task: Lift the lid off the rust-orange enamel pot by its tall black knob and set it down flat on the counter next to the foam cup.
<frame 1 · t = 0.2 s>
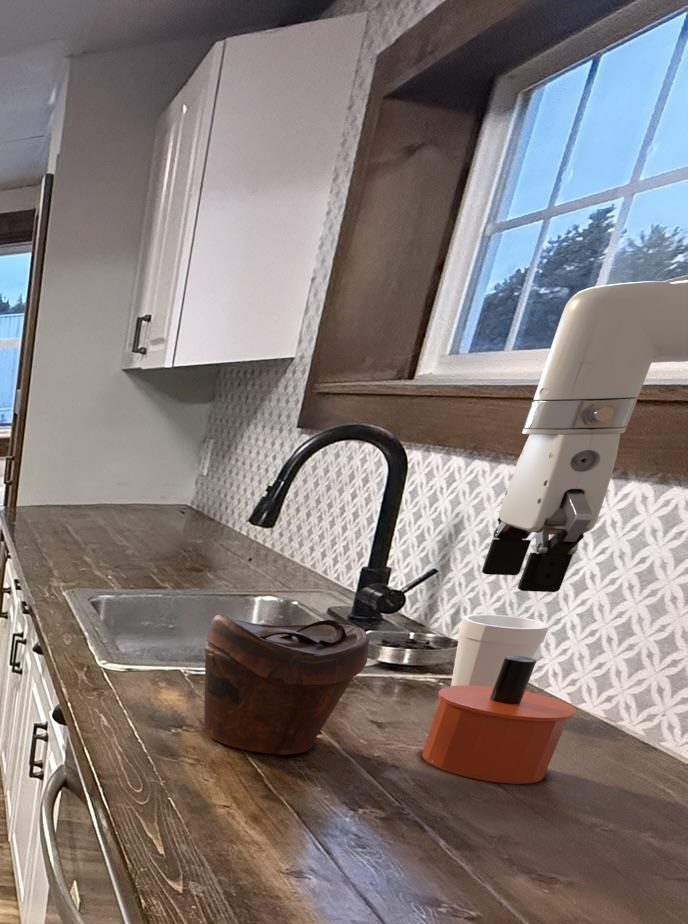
hand: (517, 582, 92), 26 cm above the worktop, tool pointing down, fingers open, 9 cm apart
pot: (480, 765, 108), on the worktop
foam cup: (474, 704, 128), on the worktop
pot lid: (503, 704, 104), point 8 cm above the worktop, touching pot
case: (259, 740, 118), on the worktop
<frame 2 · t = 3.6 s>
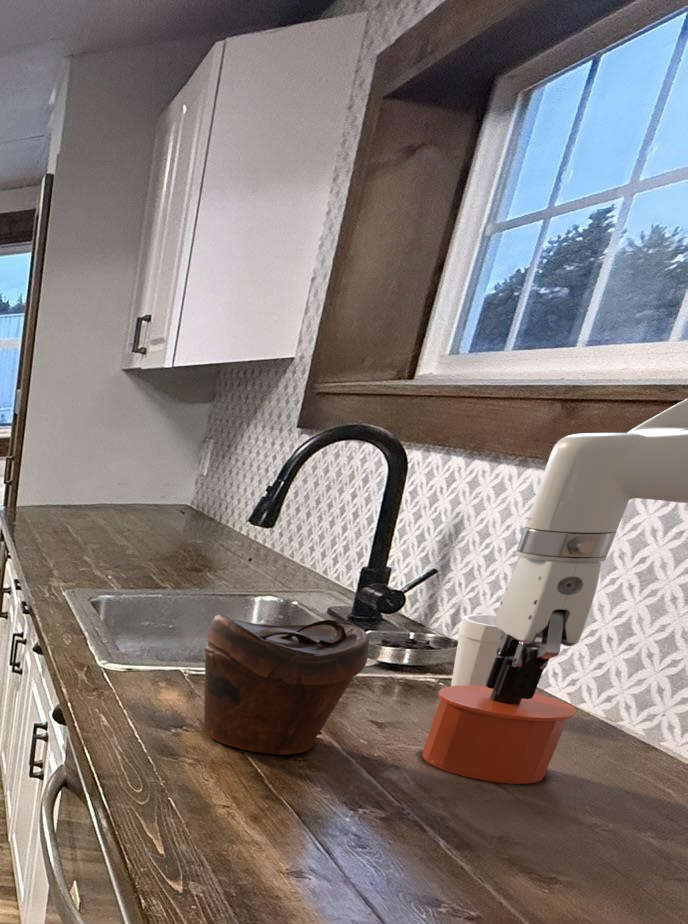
hand: (508, 691, 104), 10 cm above the worktop, tool pointing down, fingers closed on pot lid, 2 cm apart
pot lid: (503, 704, 104), point 9 cm above the worktop, touching gripper, pot
everything else where it was.
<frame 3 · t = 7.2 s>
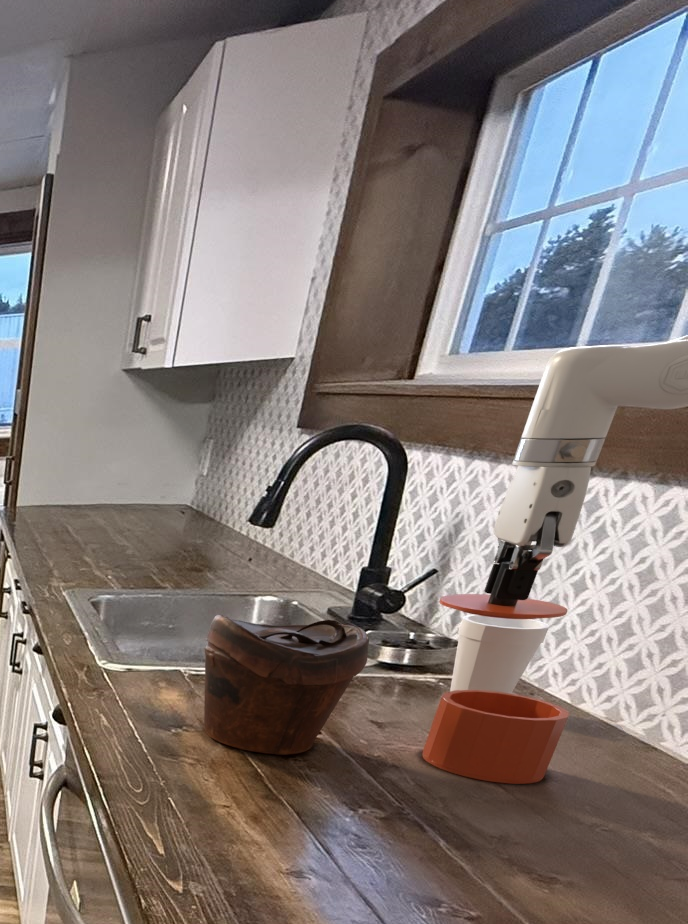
hand: (505, 595, 112), 20 cm above the worktop, tool pointing down, fingers closed on pot lid, 2 cm apart
pot lid: (500, 607, 112), point 18 cm above the worktop, touching gripper
everything else where it was.
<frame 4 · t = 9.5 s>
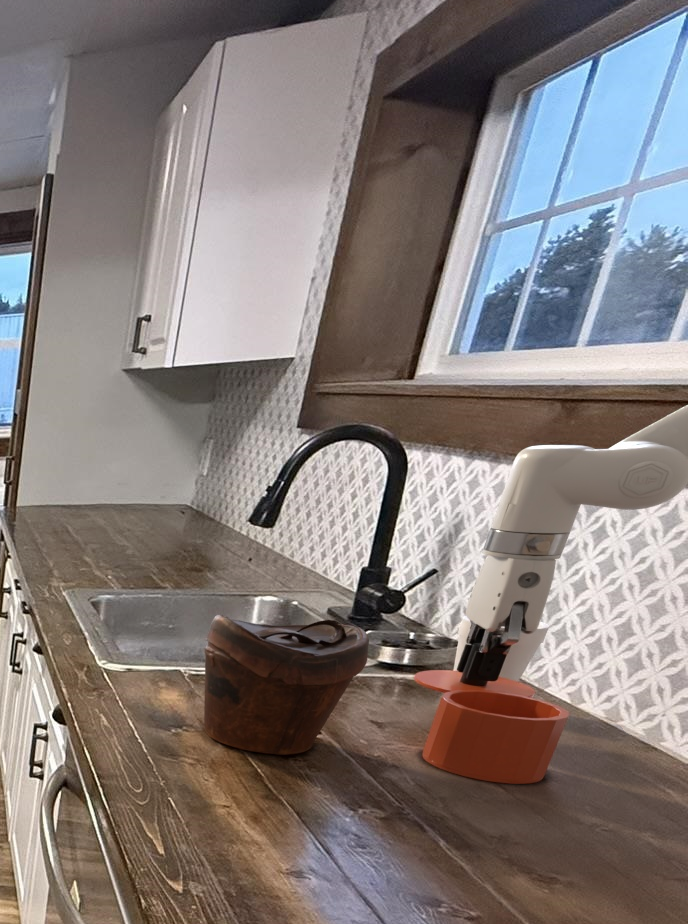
hand: (476, 675, 116), 8 cm above the worktop, tool pointing down, fingers closed on pot lid, 2 cm apart
pot lid: (471, 686, 117), point 6 cm above the worktop, touching gripper
everything else where it was.
when the fingers open (2 cm above the worktop, at t = 11.0 s): pot lid stays where it is, point 1 cm above the worktop.
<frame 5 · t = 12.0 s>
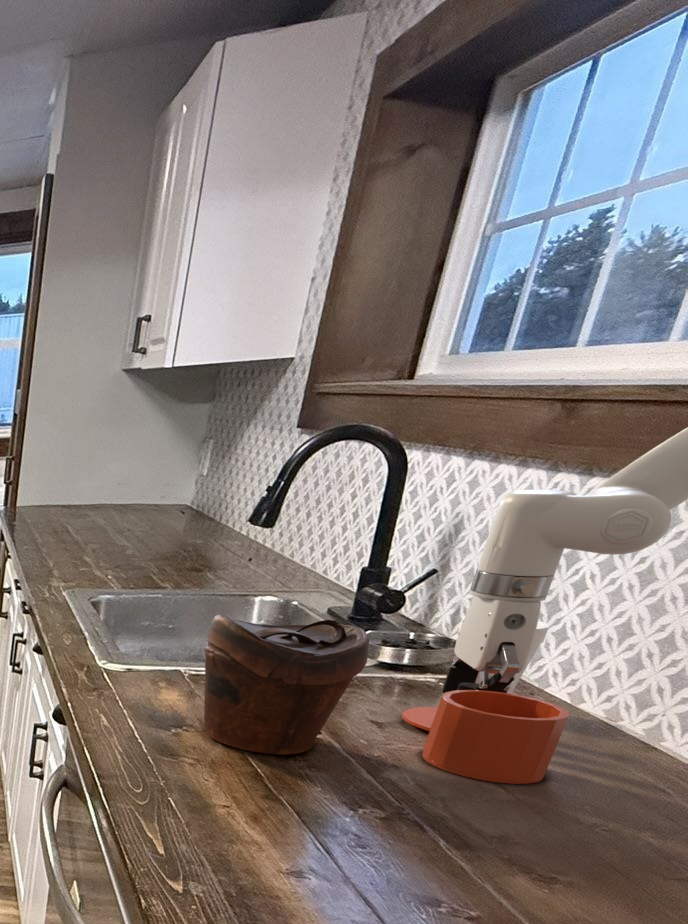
hand: (468, 704, 118), 4 cm above the worktop, tool pointing down, fingers open, 9 cm apart
pot lid: (458, 724, 119), point 1 cm above the worktop
everything else where it was.
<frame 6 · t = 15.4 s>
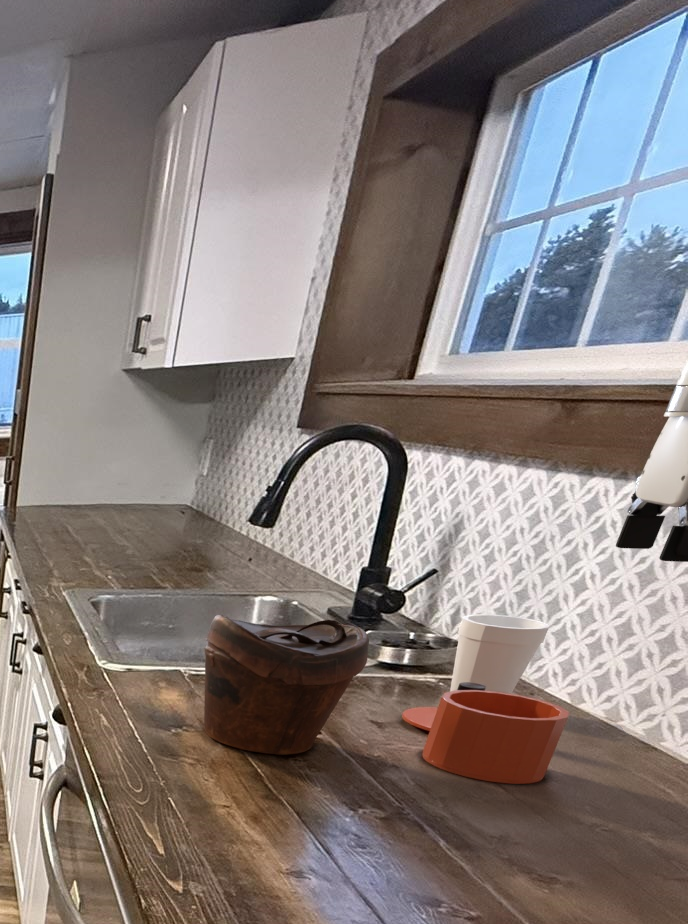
hand: (654, 554, 100), 26 cm above the worktop, tool pointing down, fingers open, 9 cm apart
nothing on the worktop moved.
at the end: pot lid point 0.6 cm above the worktop; pot lid 15.3 cm from the foam cup (horizontally); pot lid tilted 0° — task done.
